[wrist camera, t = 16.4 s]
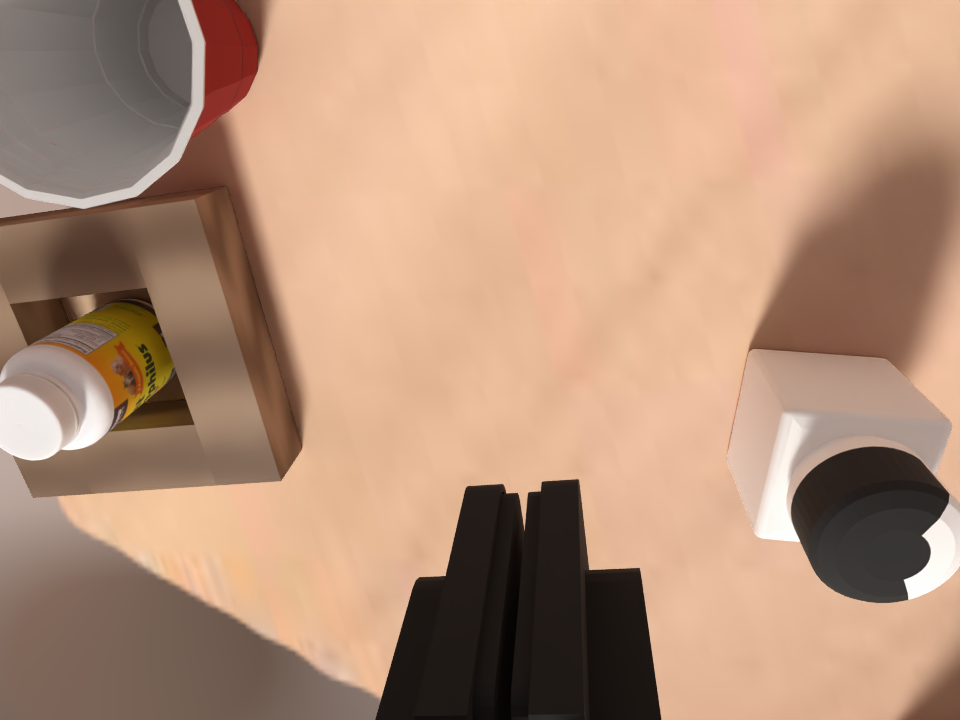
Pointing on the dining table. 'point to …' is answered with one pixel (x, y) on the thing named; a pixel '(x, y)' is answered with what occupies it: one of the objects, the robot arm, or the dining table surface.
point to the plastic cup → (113, 91)
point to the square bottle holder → (186, 329)
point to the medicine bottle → (846, 471)
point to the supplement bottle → (82, 380)
